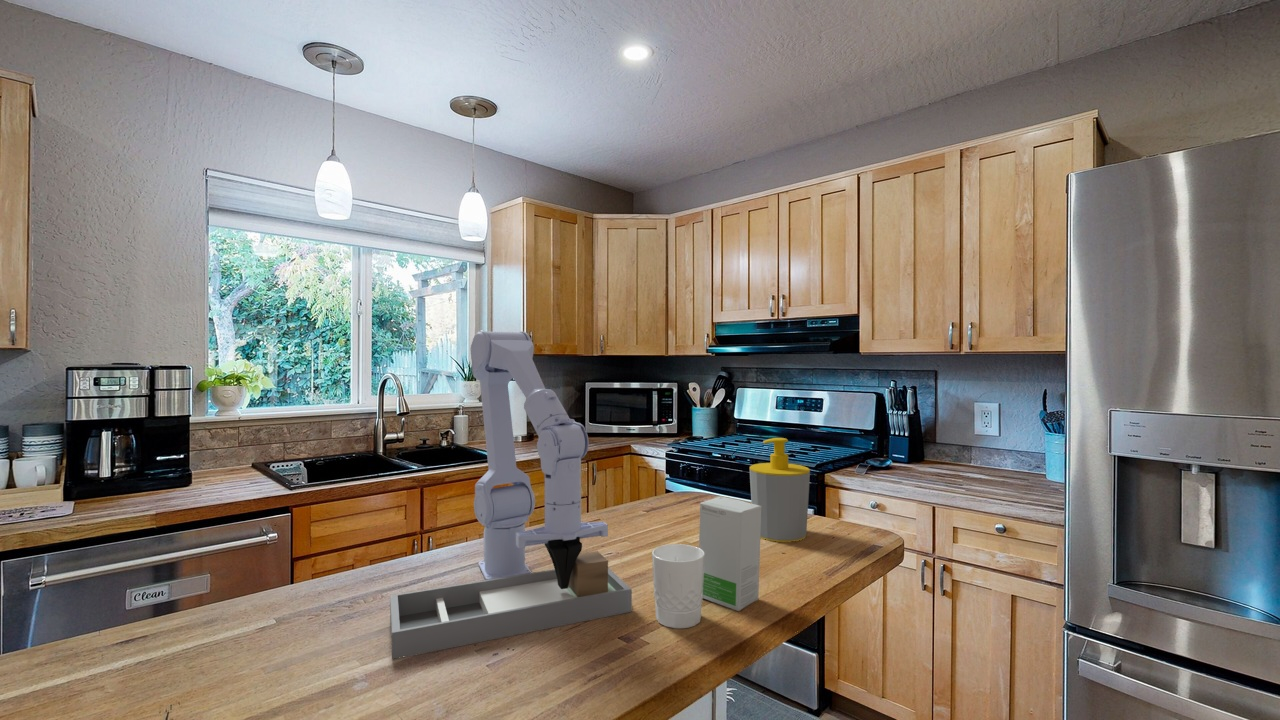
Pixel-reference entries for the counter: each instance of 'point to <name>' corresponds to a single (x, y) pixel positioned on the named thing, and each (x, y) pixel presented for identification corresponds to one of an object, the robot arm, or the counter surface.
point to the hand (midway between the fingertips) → (563, 586)
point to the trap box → (495, 610)
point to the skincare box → (730, 551)
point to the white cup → (678, 584)
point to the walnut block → (589, 574)
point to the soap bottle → (781, 495)
